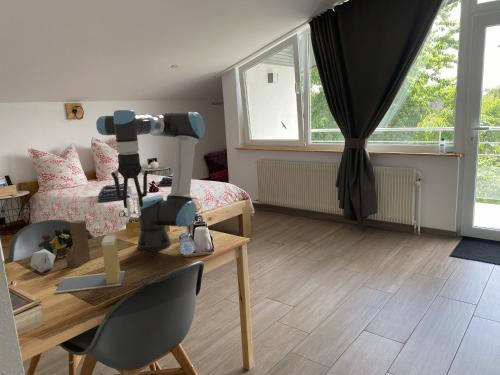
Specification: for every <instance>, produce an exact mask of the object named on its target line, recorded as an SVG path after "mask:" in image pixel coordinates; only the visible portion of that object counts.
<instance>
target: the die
mask: <svg viewBox="0 0 500 375" xmlns="http://www.w3.org/2000/svg"><path fill="white" fill-rule="evenodd" d="M56 256H57V254H54V253H53V254H52V253H51V252H49V251H47V250H45V249H44V248H43V249H41V250H38V251H34V252H33V253H32V257H31V260H30V264H29V267H31V268H33V269H34V270H36V271H38V272H39V273H41V274H42V273H44V272H46V271H49V270H51V269H52V268H53V267H54V262H55V259H56Z"/></svg>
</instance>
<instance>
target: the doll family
mask: <svg viewBox="0 0 500 375" xmlns="http://www.w3.org/2000/svg"><path fill="white" fill-rule="evenodd" d="M86 229H87V228H86ZM90 233H91V230H90V229H87V234H90ZM41 238H42V239H43V241H42V242H40V243H39V244H38V245H37V246H38V248H43V249H45V250H47V251H49V252H51V253H52V254H54V250H56V256H57V259H63V258H64V257H67V256H68V254H67V253H68V252H72V250H73V241H72V234H71V229H68V228H66V229H63V230H60V229H57V230H56V229H55V231H54V238H52V239H51V235H50V234H44V235H42V236H41ZM54 244H55V247H54V248H53V246H52V245H54ZM53 249H54V250H53Z"/></svg>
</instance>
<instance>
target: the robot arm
mask: <svg viewBox="0 0 500 375" xmlns="http://www.w3.org/2000/svg"><path fill="white" fill-rule="evenodd" d="M95 125H96V130H97V132H98V133H99V135H102V136H115V144H116V152H117V153H118V155H117V162H118V163H117V164H118V165H117V166H118V167H117V170H115V171H112V172H111V173H110V176H111V177H112V178H113V181H114V187H115V191H116V195H117V199H121V200H122V201H123V203H122V204H123V207H124V209H126V210H127V211H126V212H127V218H131V214H132V213H131V204H130V198H128V186H129V180H130V179H133V182H134V185H135V189H136V192H137V197H136V206H137V215H138V216H137V217H138V223H139V235H138V239H137V240H138V241H137V248H138V250H140V251H144V252H156V251H160V250H164V249H166V248H168V247H170V246H171V245H172V244H171V243H172V242H171V238H170V236H169V233H168V231H167V229H166V227H167V226H168V227H178V228H182V227H183V228H184V227H189V226H191V225H192V223H193V222H194V220H195V217H196V214H197V204H196V203H195V202H194V201H193V199H194V198H193V197H192V196H191V185H192V177H193V168H194V167H193V166H194V159H195V149H196V145H197V144H198V143H199V142H200V138H202V137H204V136H205V132H206V128H205V122H204V119H203V117H202V115H201V114H200V113H199V112H196V111H185V112H184V111H183V112H167V113H162V114H151V115H150V114H147V113H145V114H144V113H142V114H136V111H135V110H134V109H117V110H114V111H113V115H103V116H99V117H98V118H97V120H96V123H95ZM141 135H151V136H156V137H157V136H158V137H160V136H161V137H166V138H167V137H168V138H173V139H174V141H175V143H176V145H175V147H176V148H175V154H174V163H173V171H172V172H173V173H172V180H171V189H170V192H169V194H167V195H166V199H165V200H164V197H163V196H161V195H159V196H150V197H146V196H148V174H149V172H150V171H149V169H147V168H143V167H142V166H141V159H140V153H138V152H139V151H140V150H139V141H138V136H141ZM140 173H141V174H142V175H143V176H142V184H143V185H142V187H143V188H142V189H143V192H142V190H141V186H140V183H139V182H140V181H139V177H138V176H139V174H140ZM119 174H120V175H121V177H123V188H122V190H121V185H120V181H119ZM145 197H146V198H145Z"/></svg>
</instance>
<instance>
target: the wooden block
mask: <svg viewBox="0 0 500 375" xmlns="http://www.w3.org/2000/svg"><path fill="white" fill-rule="evenodd" d="M69 225H70V226H69V227H70V232H71V234H72V241H73V246H72V249H73V250H72V251H70V254H67V256H65V257H66V258H65V259H66V260H65V261H66V266H67V267H68V268H69V267H70V268H77V267H79V266H81V265H83V264H85V263H87V262H89V261H91V255H90V246H89V238H88V232H87V223H86V220H83V219H82V220H81V219H77V220H74V221H71V222H70V223H69Z"/></svg>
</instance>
